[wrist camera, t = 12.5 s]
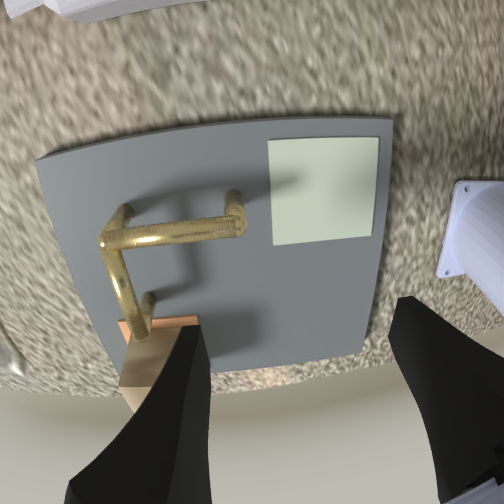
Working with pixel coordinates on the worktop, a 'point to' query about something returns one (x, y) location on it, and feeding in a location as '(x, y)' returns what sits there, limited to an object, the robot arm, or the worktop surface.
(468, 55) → the worktop surface
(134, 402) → the block
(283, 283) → the board
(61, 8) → the charger
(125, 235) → the brass corner pipe rail
